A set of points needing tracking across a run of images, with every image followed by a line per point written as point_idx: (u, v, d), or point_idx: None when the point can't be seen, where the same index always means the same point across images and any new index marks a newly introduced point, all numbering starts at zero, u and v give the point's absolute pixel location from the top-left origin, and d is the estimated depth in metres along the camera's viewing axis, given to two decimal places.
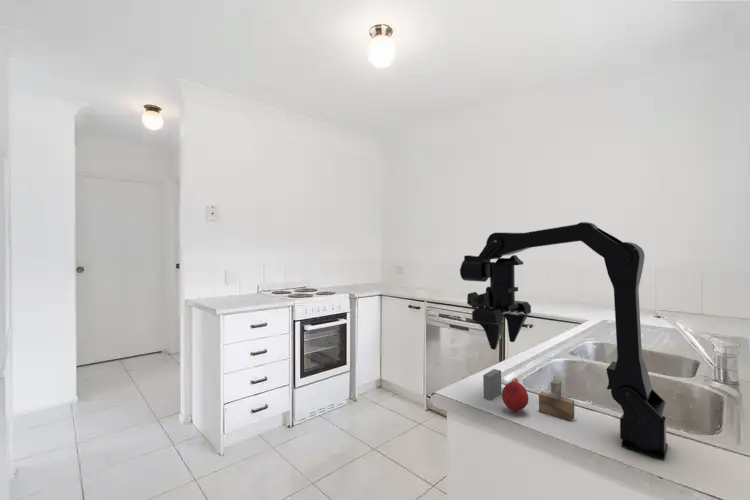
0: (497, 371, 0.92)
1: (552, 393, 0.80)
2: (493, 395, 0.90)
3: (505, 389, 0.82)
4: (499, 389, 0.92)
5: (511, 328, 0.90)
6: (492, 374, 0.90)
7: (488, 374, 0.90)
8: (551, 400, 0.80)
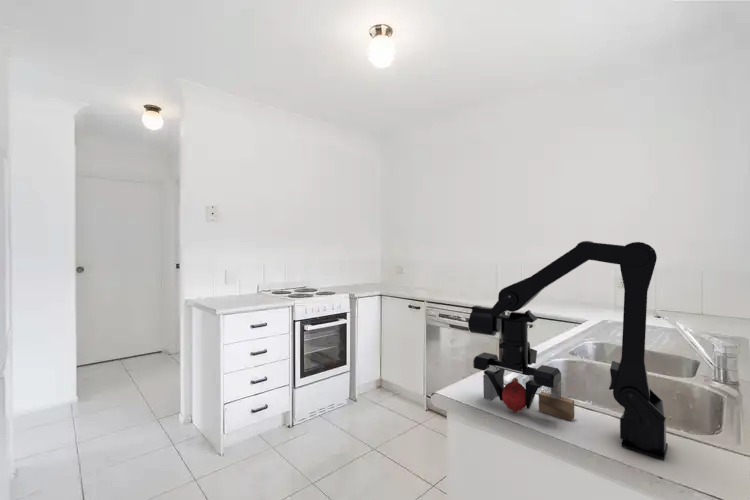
0: None
1: (552, 393, 0.80)
2: (493, 395, 0.90)
3: (505, 389, 0.82)
4: None
5: None
6: None
7: None
8: (551, 400, 0.80)
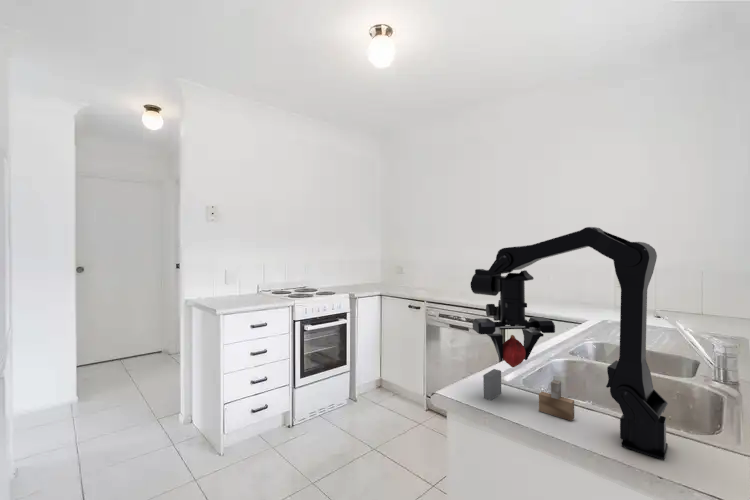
0: (497, 371, 0.92)
1: (552, 393, 0.80)
2: (493, 395, 0.90)
3: (510, 347, 0.86)
4: (499, 389, 0.92)
5: (525, 345, 0.88)
6: (492, 374, 0.90)
7: (488, 374, 0.90)
8: (551, 400, 0.80)
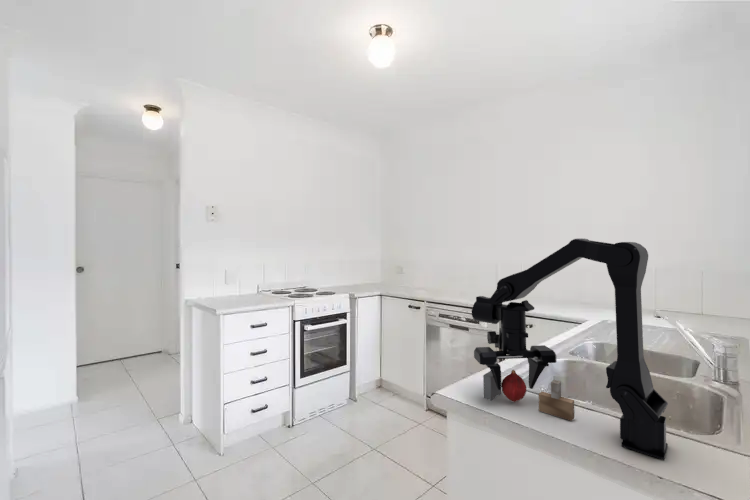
0: None
1: (552, 393, 0.80)
2: (493, 395, 0.90)
3: (510, 383, 0.86)
4: None
5: (530, 374, 0.88)
6: None
7: (488, 374, 0.90)
8: (551, 400, 0.80)
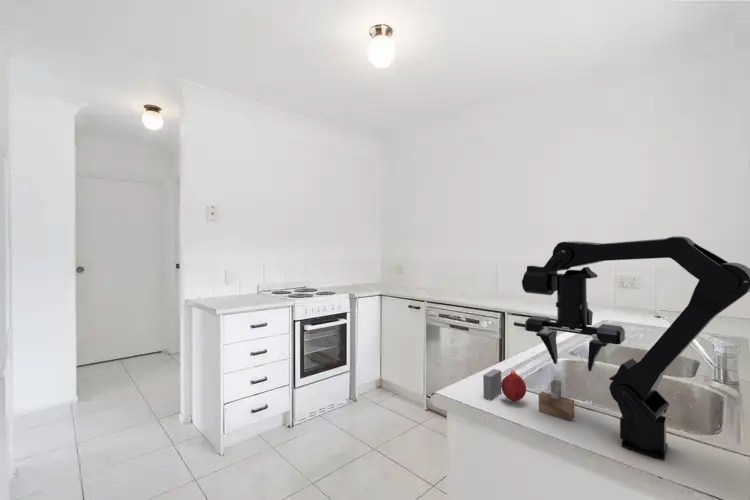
0: (497, 371, 0.92)
1: (552, 393, 0.80)
2: (493, 395, 0.90)
3: (510, 383, 0.86)
4: (499, 389, 0.92)
5: None
6: (492, 374, 0.90)
7: (488, 374, 0.90)
8: (551, 400, 0.80)
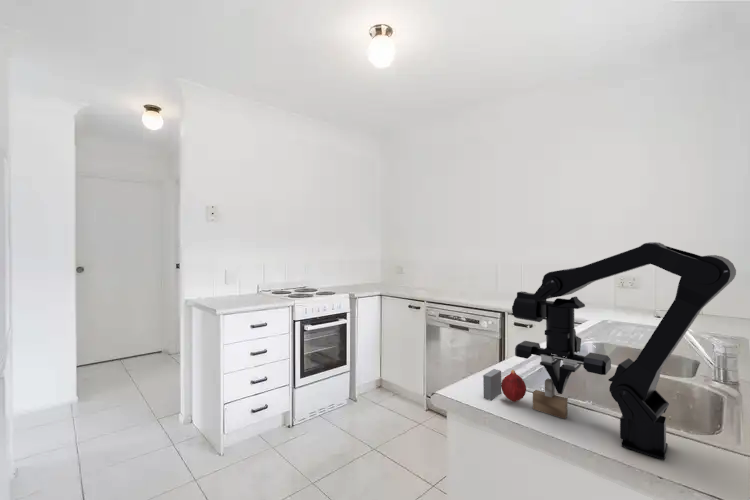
0: (497, 371, 0.92)
1: (546, 391, 0.81)
2: (493, 395, 0.90)
3: (510, 383, 0.86)
4: (499, 389, 0.92)
5: None
6: (492, 374, 0.90)
7: (488, 374, 0.90)
8: (545, 398, 0.81)
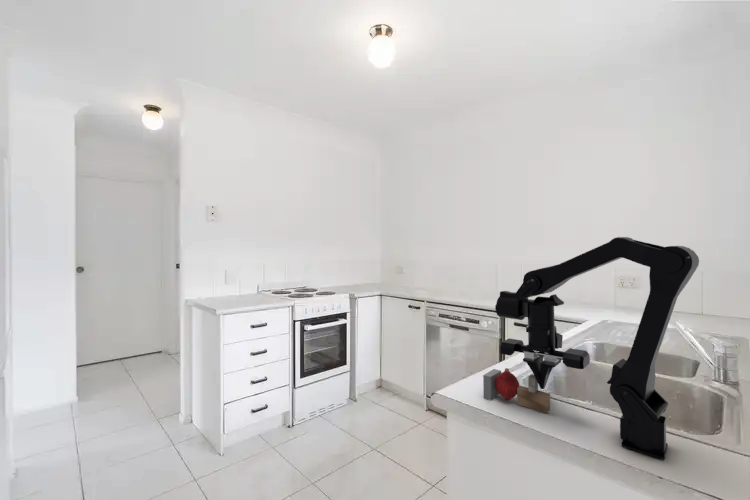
0: (497, 371, 0.92)
1: (529, 387, 0.84)
2: (493, 395, 0.90)
3: (503, 381, 0.87)
4: None
5: None
6: (492, 374, 0.90)
7: (488, 374, 0.90)
8: (529, 394, 0.84)
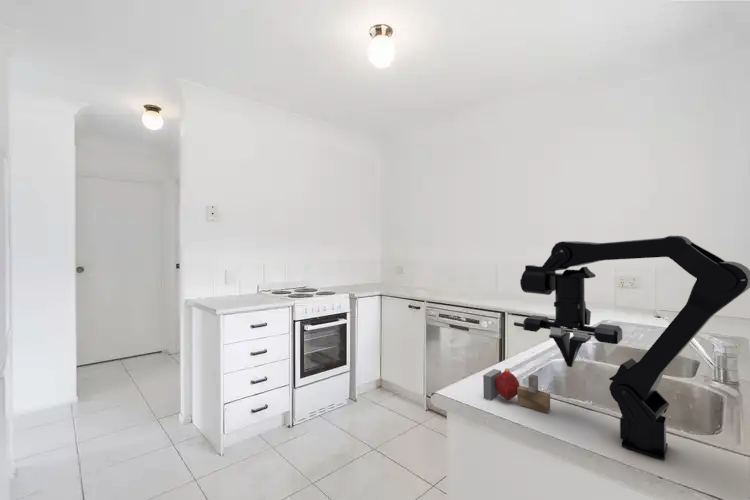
0: (497, 371, 0.92)
1: (529, 387, 0.84)
2: (493, 395, 0.90)
3: (503, 381, 0.87)
4: None
5: None
6: (492, 374, 0.90)
7: (488, 374, 0.90)
8: (529, 394, 0.84)
